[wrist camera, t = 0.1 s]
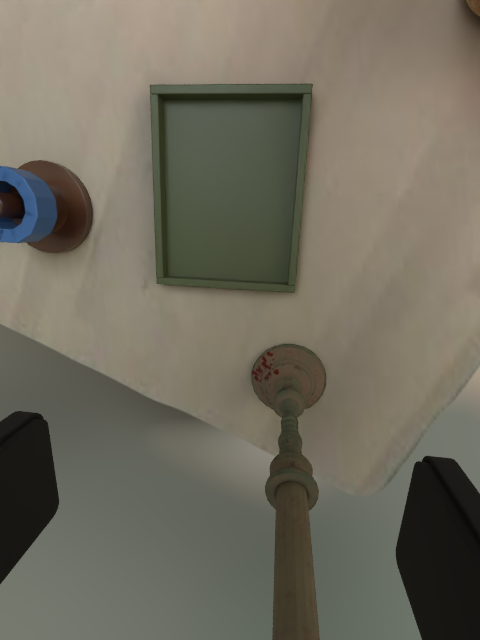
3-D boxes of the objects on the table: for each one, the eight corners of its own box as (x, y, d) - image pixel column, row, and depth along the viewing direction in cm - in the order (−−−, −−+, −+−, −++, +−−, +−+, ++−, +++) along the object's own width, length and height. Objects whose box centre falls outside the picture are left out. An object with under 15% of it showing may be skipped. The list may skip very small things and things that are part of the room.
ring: (-11, 170, 34) (-37, 165, 32) (52, 171, 34) (31, 166, 31) (1, 239, 36) (-23, 240, 34) (60, 242, 36) (41, 244, 33)
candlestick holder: (282, 328, 40) (277, 603, 11) (341, 373, 40) (485, 744, 12) (237, 382, 42) (139, 714, 14) (293, 423, 43) (314, 824, 14)
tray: (157, 92, 34) (149, 84, 32) (311, 92, 32) (312, 83, 30) (162, 281, 40) (156, 284, 38) (294, 289, 38) (294, 292, 36)
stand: (6, 161, 38) (-71, 143, 30) (88, 163, 37) (32, 145, 29) (19, 249, 41) (-48, 256, 33) (96, 253, 40) (47, 261, 32)
